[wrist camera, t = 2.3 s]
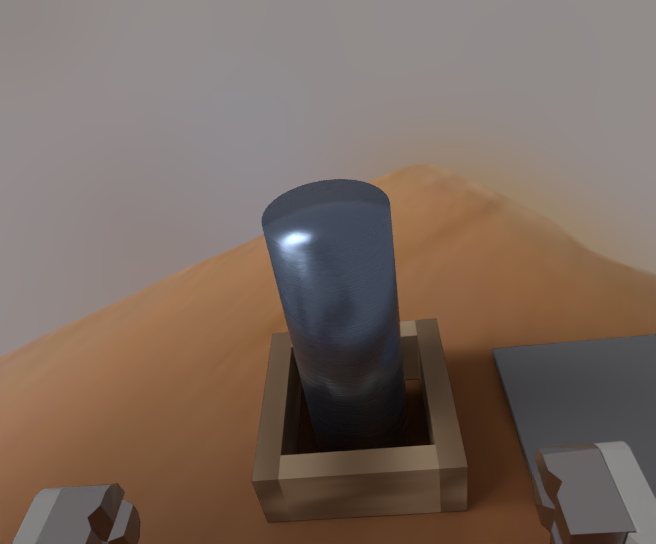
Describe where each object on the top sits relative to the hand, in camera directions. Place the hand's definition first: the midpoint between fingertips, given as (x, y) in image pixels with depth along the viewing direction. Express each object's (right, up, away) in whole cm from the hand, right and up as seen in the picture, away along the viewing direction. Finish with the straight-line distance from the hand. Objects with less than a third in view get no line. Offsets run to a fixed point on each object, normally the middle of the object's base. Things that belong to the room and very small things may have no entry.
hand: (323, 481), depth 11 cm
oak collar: (+2, -5, +19) cm, 19 cm away
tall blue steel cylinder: (+2, -5, +19) cm, 19 cm away
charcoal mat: (+15, -3, +17) cm, 23 cm away
